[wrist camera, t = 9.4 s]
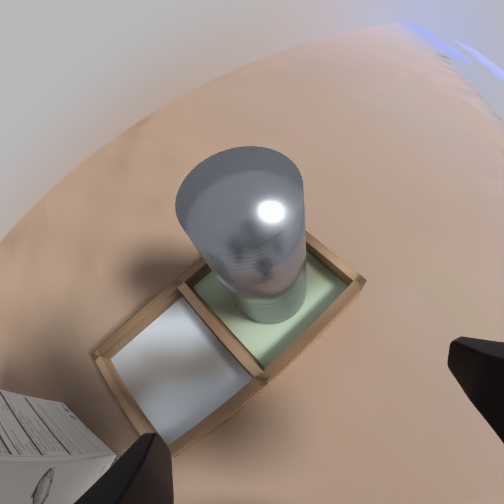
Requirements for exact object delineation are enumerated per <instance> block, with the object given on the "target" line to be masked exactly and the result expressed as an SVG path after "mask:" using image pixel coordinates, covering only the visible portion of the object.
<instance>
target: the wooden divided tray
mask: <svg viewBox="0 0 504 504" xmlns="http://www.w3.org/2000/svg"><path fill="white" fill-rule="evenodd" d="M305 236H306V274H307V293H306V298H305V301H304V303H303V305H302V307H301V308H300V310H299V311H298V312H297V313H296V314H295V315H294V316H293V317H291V318H290V319H288V320H286V321H284V322H281V323H278V324H261V323H257V322H255V321H252V320H251V319H249V318H248V317H246V316H245V315H244V314H243V313H242V311H241V310H240V309H239V307H238V306H237V305H236V303H235V302H234V301H233V299H232V298H231V296H230V295H229V294H228V292H227V291H226V289H225V288H224V287H223V285H222V284H221V282H220V281H219V280H218V278H217V277H216V275H215V274H214V273H213V271H212V270H211V268H210V267H209V265H208V264H207V263H206V261H205V260H204V258H203V257H201V258H200V259H199V260H198V261H196V262H195V263H194V264H193V265H192V266H191V267H189V268H188V269H187V270H186V271H185V272H184V273H182V274H181V275H180V276H179V277H178V278H177V279H175V280H174V281H173V282H172V283H171V284H170V285H169V286H167V287H166V288H165V289H164V290H163V291H162V292H160V293H159V294H158V295H157V296H156V297H155V298H154V299H152V300H151V301H150V302H149V303H148V304H147V305H146V306H145V307H143V308H142V309H141V310H140V311H139V312H138V313H137V314H136V315H134V316H133V317H132V318H131V319H130V320H129V321H128V322H127V323H125V324H124V325H123V326H122V327H121V328H120V329H119V330H118V331H117V332H115V333H114V334H113V335H112V336H111V337H110V338H109V339H108V340H107V341H106V342H104V343H103V344H102V345H101V346H100V347H99V348H98V349H97V350H96V351H95V352H94V353H93V354H92V356H93V358H94V360H95V362H96V364H97V366H98V367H99V369H100V371H101V373H102V375H103V377H104V379H105V380H106V382H107V384H108V386H109V387H110V389H111V391H112V393H113V394H114V396H115V398H116V399H117V401H118V403H119V404H120V406H121V407H122V409H123V411H124V412H125V414H126V415H127V417H128V418H129V420H130V421H131V423H132V424H133V426H134V427H135V429H136V430H137V432H138V433H139V435H140V436H141V435H142V434H144V433H150V432H157V433H158V434H159V435H160V436H161V438H162V439H163V441H164V442H165V444H166V445H167V446H168V448H169V450H170V452H171V458H172V457H175V456H177V455H178V454H180V453H181V452H183V451H184V450H186V449H187V448H189V447H190V446H191V445H193V444H194V443H196V442H197V441H198V440H200V439H201V438H203V437H204V436H205V435H207V434H208V433H209V432H211V431H212V430H213V429H215V428H216V427H217V426H219V425H220V424H221V423H222V422H224V421H225V420H226V419H228V418H229V417H230V416H231V415H233V414H234V413H235V412H236V411H238V410H239V409H240V408H241V407H243V406H244V405H245V404H246V403H247V402H249V401H250V400H251V399H252V398H253V397H255V396H256V395H257V394H258V393H259V392H260V391H262V390H263V389H264V388H265V387H266V386H267V385H268V384H270V383H271V382H272V381H273V380H274V379H275V378H276V377H277V376H279V375H280V374H281V373H282V372H283V371H284V370H285V369H286V368H287V367H288V366H290V365H291V364H292V363H293V362H294V361H295V360H296V359H297V358H298V357H299V356H300V355H301V354H302V353H303V352H304V351H305V350H306V349H307V348H308V347H309V346H310V345H311V344H312V343H313V342H315V341H316V340H317V339H318V338H319V337H320V336H321V334H322V333H323V332H324V331H325V330H326V329H327V328H328V327H329V326H330V325H331V324H332V323H333V322H334V321H335V320H336V319H337V318H338V317H339V316H340V315H341V314H342V313H343V312H344V310H345V309H346V308H347V307H348V306H349V305H350V304H351V303H352V302H353V301H354V300H355V298H356V297H357V296H358V295H359V294H360V292H361V290H362V288H363V286H364V284H365V282H366V279H364V278H363V277H362V276H361V275H360V274H358V273H357V272H356V271H355V270H354V269H352V268H351V267H350V266H349V265H348V264H346V263H345V262H344V261H343V260H342V259H340V258H339V257H338V256H337V255H336V254H334V253H333V252H332V251H331V250H329V249H328V248H327V247H326V246H324V245H323V244H322V243H321V242H319V241H318V240H317V239H316V238H314V237H313V236H312V235H311V234H309V233H308V232H307V231H306V230H305Z"/></svg>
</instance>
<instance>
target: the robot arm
mask: <svg viewBox="0 0 504 504" xmlns="http://www.w3.org/2000/svg"><path fill="white" fill-rule="evenodd" d="M448 367H449V369H450V371H451V372H452V374H453V375H454V377H455V378H456V380H457V381H458V383H459V384H460V386H461V387H462V389H463V390H464V392H465V393H466V395H467V396H468V398H469V399H470V401H471V402H472V403H473V405H474V406H475V407H476V408H477V410H478V411H479V412H480V413H481V415H482V416H483V417H484V418H485V420H486V421H487V422H488V423H489V425H490V426H491V427H492V429H493V430H494V431H495V432H496V434H497V435H498V436H499V438H500V439H501V440H502V442H503V443H504V342H496V341H489V340H482V339H475V338H468V337H459V338H457V339H455V340H453V341H452V342H451V344H450V347H449V355H448ZM173 502H174V495H173V479H172V461H171V452H170V450H169V448H168V446H167V445H166V444H165V442H164V441H163V439H162V438H161V436H160V435H159V434H158V433H157V432H150V433H144V434H142V435H141V436H140V437H139V438H138V439H137V441H136V442H135V443H134V444H133V445H132V446H131V447H130V448H129V449H128V450H127V451H126V452H125V453H124V454H123V455H122V456H121V457H120V458H119V459H118V460H117V461H116V462H115V463H114V464H113V465H112V466H111V467H110V468H109V469H108V470H107V471H106V472H105V473H104V474H103V475H102V476H101V477H100V478H99V479H98V480H97V481H96V482H95V483H94V484H93V485H92V486H91V487H90V488H89V489H88V490H87V491H86V492H85V493H84V494H83V495H82V496H81V497H80V498H79V499H78V500H77V501H76V502H75V503H73V504H173Z"/></svg>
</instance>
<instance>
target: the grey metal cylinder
mask: <svg viewBox="0 0 504 504" xmlns="http://www.w3.org/2000/svg"><path fill="white" fill-rule="evenodd" d="M175 207H176V215H177V218H178V221H179V223H180V224H181V226H182V228H183V229H184V231H185V232H186V234H187V235H188V236H189V238H190V239H191V241H192V242H193V244H194V245H195V247H196V248H197V250H198V251H199V253H200V254H201V255H202V257H203V258H204V260H205V261H206V263H207V264H208V265H209V267H210V268H211V270H212V271H213V273H214V274H215V275H216V277H217V278H218V280H219V281H220V282H221V284H222V285H223V287H224V288H225V289H226V291H227V292H228V294H229V295H230V296H231V298H232V299H233V301H234V302H235V303H236V305H237V306H238V307H239V309H240V310H241V311H242V313H243V314H244V315H245V316H246V317H248V318H249V319H251V320H252V321H255V322H257V323H261V324H278V323H281V322H284V321H286V320H288V319H290V318H291V317H293V316H294V315H295V314H296V313H297V312H298V311H299V310H300V308H301V307H302V305H303V303H304V301H305V298H306V293H307V274H306V236H305V211H304V192H303V180H302V176H301V174H300V172H299V170H298V168H297V167H296V165H295V164H294V163H293V162H292V161H291V160H290V159H289V158H288V157H286V156H285V155H283V154H281V153H279V152H277V151H275V150H272V149H268V148H264V147H255V146H245V147H237V148H232V149H228V150H225V151H222V152H219V153H217V154H215V155H213V156H210V157H209V158H207V159H205V160H204V161H202V162H201V163H200V164H198V165H197V166H196V167H195V168H194V169H193V170H192V171H191V172H190V173H189V174H188V175H187V176H186V178H185V179H184V181H183V182H182V184H181V186H180V188H179V190H178V193H177V197H176V204H175Z"/></svg>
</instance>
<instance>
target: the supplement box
mask: <svg viewBox="0 0 504 504" xmlns="http://www.w3.org/2000/svg"><path fill="white" fill-rule="evenodd" d="M116 456H117V455H116V453H114V452H113V451H112V450H111V449H110V448H109V447H108V446H107V445H106V444H105V443H103V442H102V441H101V440H100V439H99V438H98V437H97V436H96V435H95V434H94V433H92V431H91V430H90V429H88V428H87V427H86V426H85V425H84V424H83V423H82V422H81V421H80V420H79V419H78V418H77V416H76V415H75V414H74V413H73V412H72V411H71V410H70V409H69V408H68V407H67V406H66V405H65V404H64V403H63V402H57V401H51V400H45V399H41V398H36V397H31V396H26V395H21V394H17V393H13V392H9V391H5V390H1V389H0V504H73V503H75V502H76V501H77V500H78V499H79V498H80V497H81V496H82V495H83V494H84V493H85V492H86V491H87V490H88V489H89V488H90V487H91V486H92V485H93V484H94V483H95V482H96V481H97V480H98V479H99V478H100V477H101V476H102V475H103V474H104V473H105V472H106V471H107V470H108V469H109V468H110V466H111V464H112V463H113V461H114V459H115V458H116Z"/></svg>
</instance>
